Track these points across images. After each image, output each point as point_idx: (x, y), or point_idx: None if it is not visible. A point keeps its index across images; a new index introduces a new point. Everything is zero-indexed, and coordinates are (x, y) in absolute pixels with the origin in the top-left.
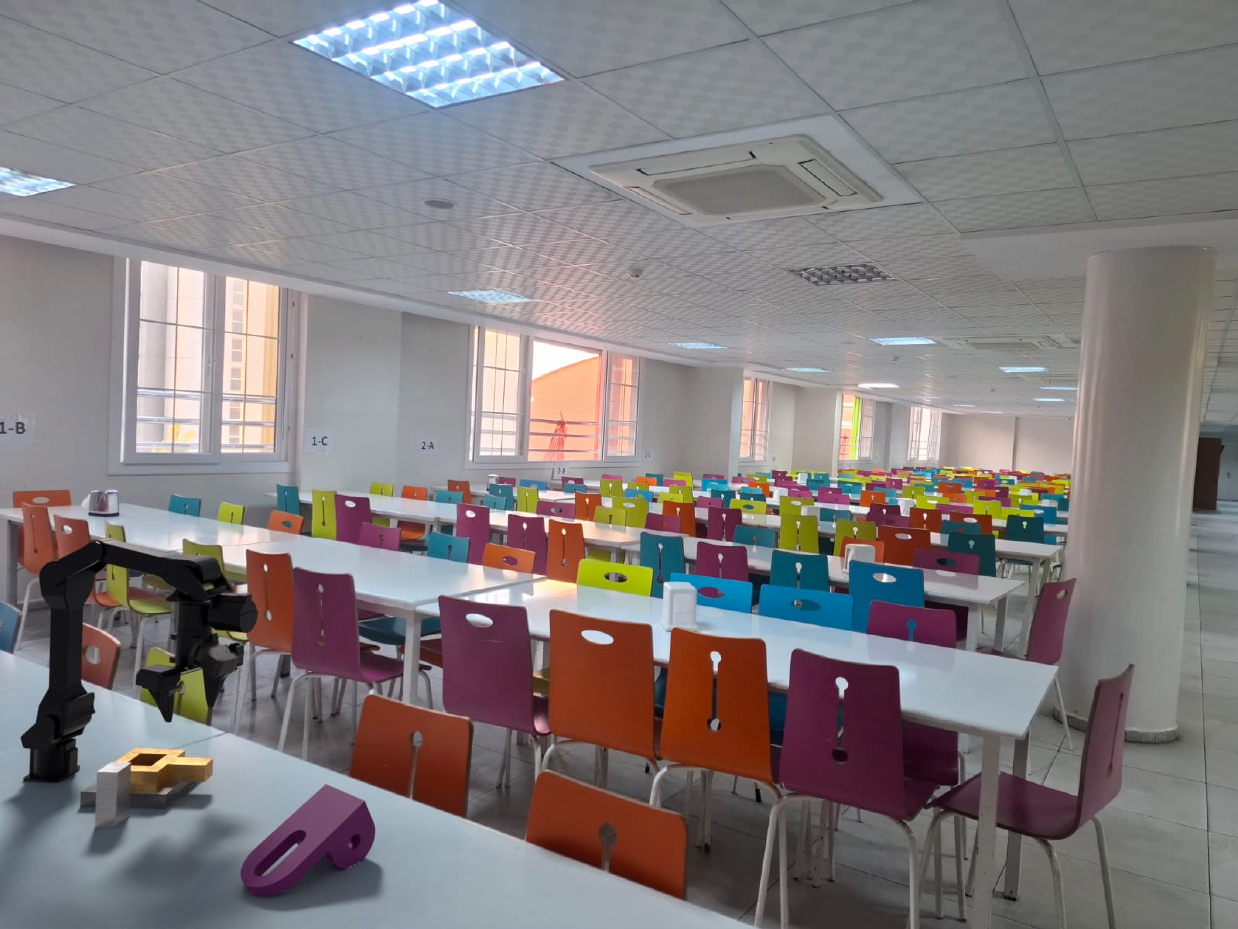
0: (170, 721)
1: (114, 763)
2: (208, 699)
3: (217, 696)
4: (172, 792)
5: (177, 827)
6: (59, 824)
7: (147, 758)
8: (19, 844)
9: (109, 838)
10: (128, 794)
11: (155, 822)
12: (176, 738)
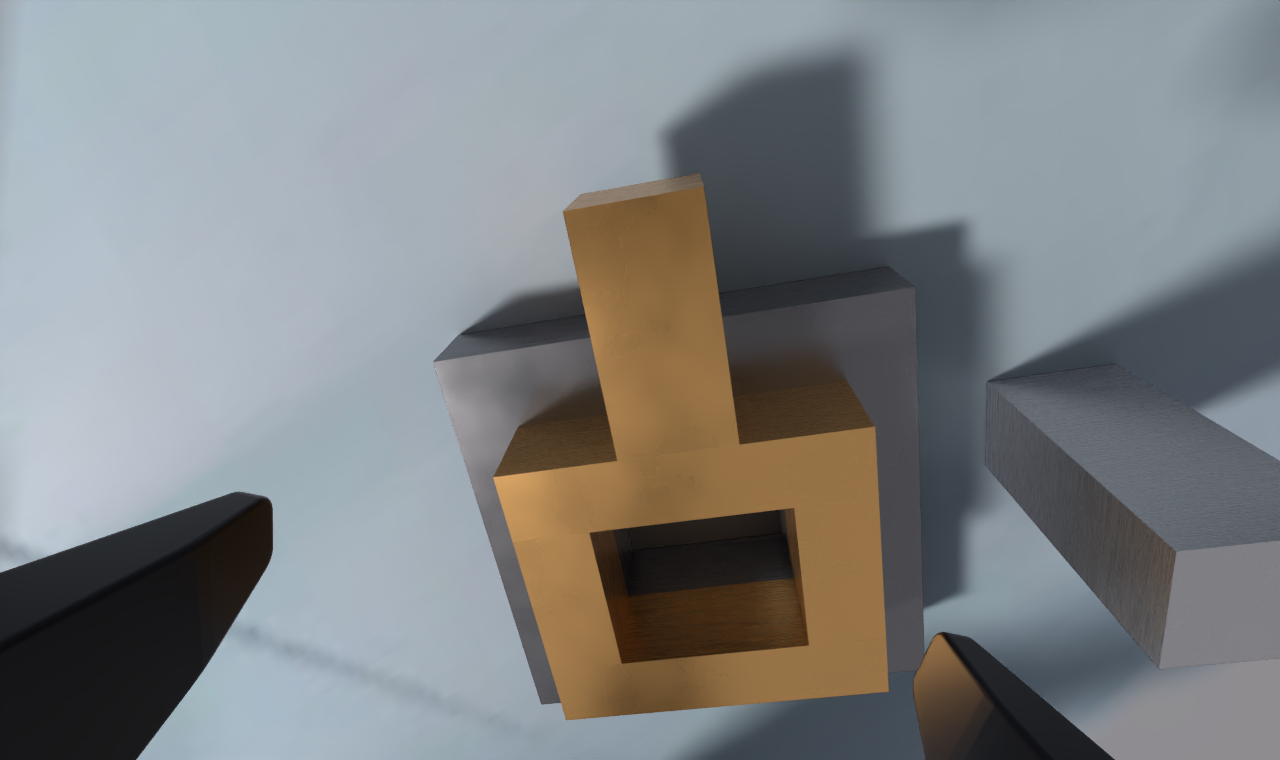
0: (965, 641)
1: (1192, 638)
2: (201, 625)
3: (79, 550)
4: (821, 295)
5: (1114, 50)
6: (1078, 588)
7: (616, 609)
8: None
9: (1236, 317)
10: (1063, 433)
11: (1049, 215)
12: None
